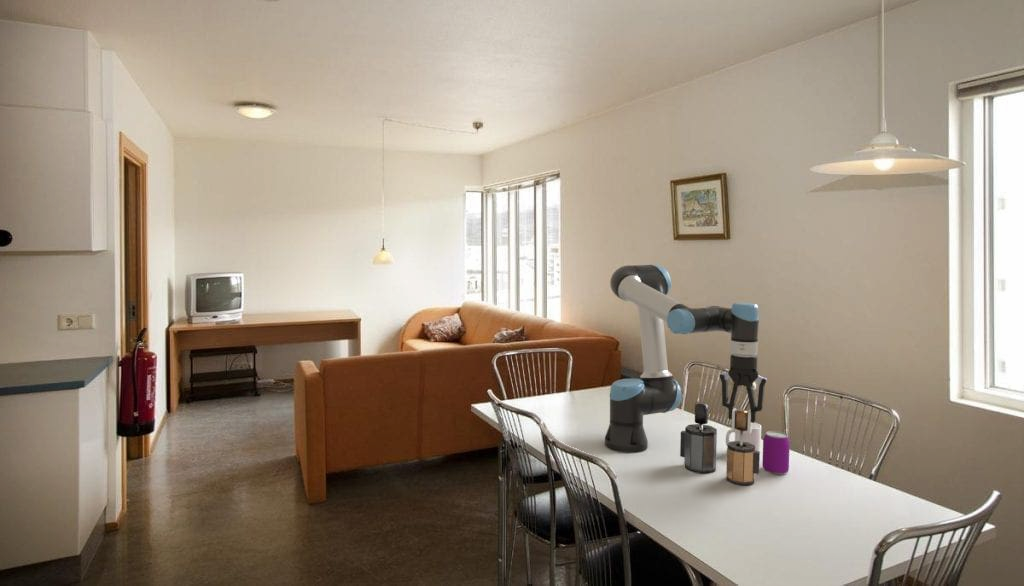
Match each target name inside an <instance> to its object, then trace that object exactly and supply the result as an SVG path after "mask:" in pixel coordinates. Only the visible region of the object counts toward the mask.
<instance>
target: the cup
mask: <svg viewBox="0 0 1024 586" xmlns="http://www.w3.org/2000/svg"><path fill="white" fill-rule="evenodd" d="M732 433H734V441H740V430H735V431H732V428H730V429H728V430H727V432H726V435H725V444H726V446H727V444H728V443H729V442H730V436H731V434H732ZM743 442H748V443H750V444H752V445H754V446H755V451H759V452H760V453H761V447H762V445H761V444H762V425H761V424H760V423H757V422H754V423H752V432H751V433H750V434H747V431H743Z"/></svg>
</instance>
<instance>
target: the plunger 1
mask: <svg viewBox="0 0 1024 586" xmlns="http://www.w3.org/2000/svg"><path fill="white" fill-rule="evenodd" d="M708 421H709V403H707V402H702V401H698V402H695V403H694V424H699V430H703V425H707V424H709V423H708Z"/></svg>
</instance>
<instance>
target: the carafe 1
mask: <svg viewBox="0 0 1024 586" xmlns="http://www.w3.org/2000/svg"><path fill="white" fill-rule="evenodd" d="M717 430H718V428H715V427H714V426H712V425H709V424H708V425H707V424H703V430H699V424H698V423H694V424H688V425H686V426H685V429H684V430H682V431H680V449H679V454H680V455H679V456H680V457H682V458H684V463H683V466H684V468H685V470H687V471H688V472H692V473H695V474H702V475H703V474H705V475H708V474H714V473H715V472H716V470H717V443H718V441H717V438H718V437H717V436H718V431H717Z"/></svg>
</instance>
